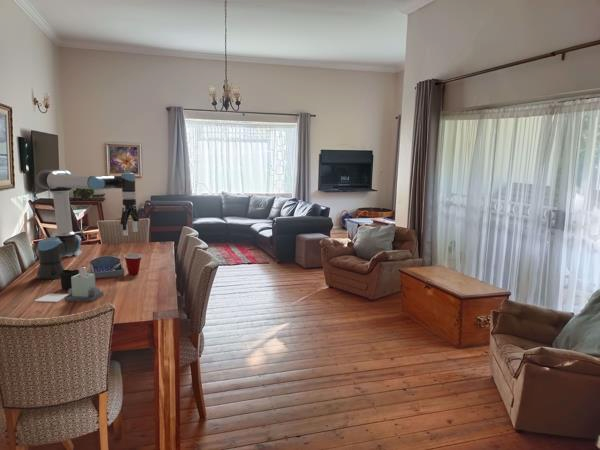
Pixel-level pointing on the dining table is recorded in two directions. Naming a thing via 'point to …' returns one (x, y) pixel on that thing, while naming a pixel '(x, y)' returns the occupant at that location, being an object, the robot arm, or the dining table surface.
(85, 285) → the sleeve
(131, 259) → the plastic cup
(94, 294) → the block with threaded rod
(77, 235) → the toy gun turret
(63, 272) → the pen holder
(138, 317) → the dining table surface
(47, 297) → the mat
